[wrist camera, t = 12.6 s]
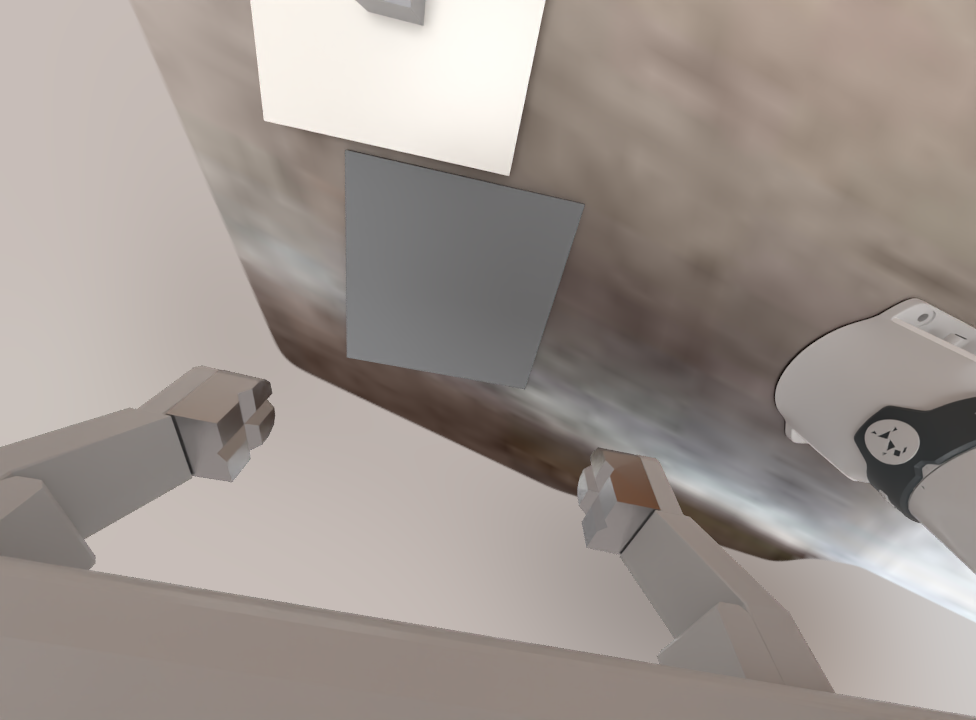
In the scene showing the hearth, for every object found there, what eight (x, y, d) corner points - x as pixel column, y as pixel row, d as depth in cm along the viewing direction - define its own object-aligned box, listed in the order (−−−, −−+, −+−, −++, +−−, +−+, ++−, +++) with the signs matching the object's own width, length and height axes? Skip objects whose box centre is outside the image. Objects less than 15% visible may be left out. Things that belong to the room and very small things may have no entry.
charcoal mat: (583, 203, 31) (584, 204, 31) (524, 386, 42) (524, 389, 41) (347, 149, 29) (344, 149, 29) (348, 354, 40) (347, 357, 40)
